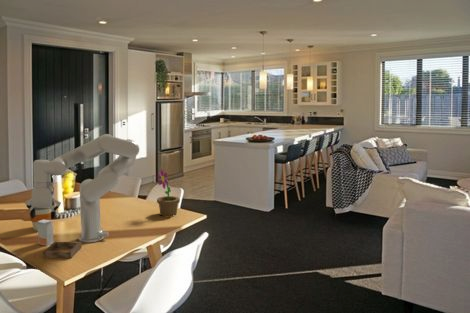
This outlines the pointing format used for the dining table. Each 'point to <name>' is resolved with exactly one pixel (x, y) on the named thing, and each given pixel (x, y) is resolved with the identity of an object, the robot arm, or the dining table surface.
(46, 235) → the skincare box
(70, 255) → the socket
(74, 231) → the dining table surface
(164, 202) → the flowerpot
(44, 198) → the robot arm
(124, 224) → the dining table surface
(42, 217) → the reusable coffee cup
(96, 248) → the dining table surface
